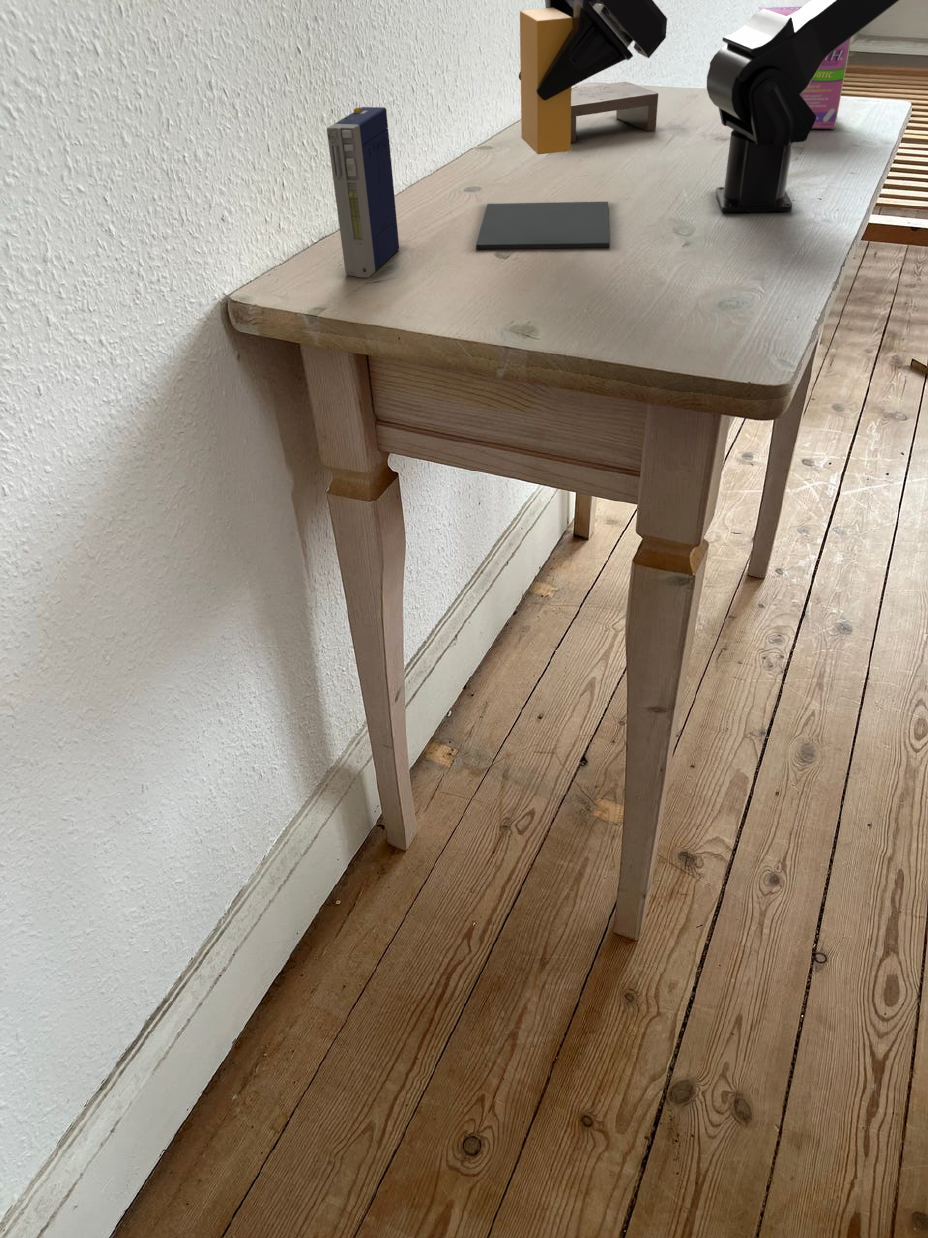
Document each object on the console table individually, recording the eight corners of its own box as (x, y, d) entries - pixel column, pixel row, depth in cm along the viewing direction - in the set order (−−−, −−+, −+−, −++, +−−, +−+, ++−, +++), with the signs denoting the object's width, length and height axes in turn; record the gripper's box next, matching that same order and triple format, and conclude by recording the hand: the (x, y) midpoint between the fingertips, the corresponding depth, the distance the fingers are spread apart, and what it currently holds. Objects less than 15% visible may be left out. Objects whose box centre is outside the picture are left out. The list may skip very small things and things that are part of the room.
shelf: (655, 129, 114) (658, 92, 112) (566, 143, 111) (567, 106, 109) (624, 116, 120) (626, 81, 117) (538, 129, 117) (539, 93, 115)
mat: (609, 247, 84) (609, 242, 84) (476, 249, 85) (476, 244, 85) (607, 205, 93) (607, 201, 93) (487, 207, 94) (487, 203, 94)
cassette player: (376, 247, 87) (361, 102, 79) (400, 248, 86) (386, 103, 79) (344, 276, 82) (324, 124, 74) (369, 278, 81) (351, 125, 73)
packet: (552, 134, 87) (553, 7, 80) (570, 150, 82) (572, 17, 76) (521, 138, 87) (519, 10, 80) (537, 154, 82) (536, 20, 76)
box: (743, 129, 112) (758, 13, 104) (744, 118, 116) (759, 5, 109) (835, 130, 110) (857, 11, 102) (832, 118, 114) (853, 3, 106)
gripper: (563, -167, 78) (442, 2, 84) (637, -168, 64) (486, 35, 70) (647, -59, 84) (529, 92, 90) (731, -38, 70) (585, 139, 76)
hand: (530, 88), depth 81 cm, fingers closed on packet, 6 cm apart
